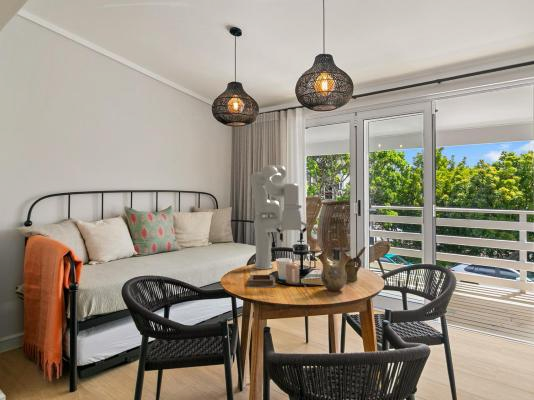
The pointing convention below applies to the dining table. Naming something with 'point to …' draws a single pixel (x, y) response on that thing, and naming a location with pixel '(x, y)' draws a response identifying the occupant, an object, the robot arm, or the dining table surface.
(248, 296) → the dining table surface
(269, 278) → the jug stand
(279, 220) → the robot arm
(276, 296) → the dining table surface
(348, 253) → the coffee can
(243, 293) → the dining table surface
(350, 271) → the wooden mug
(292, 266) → the jug
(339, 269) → the ceramic vessel
